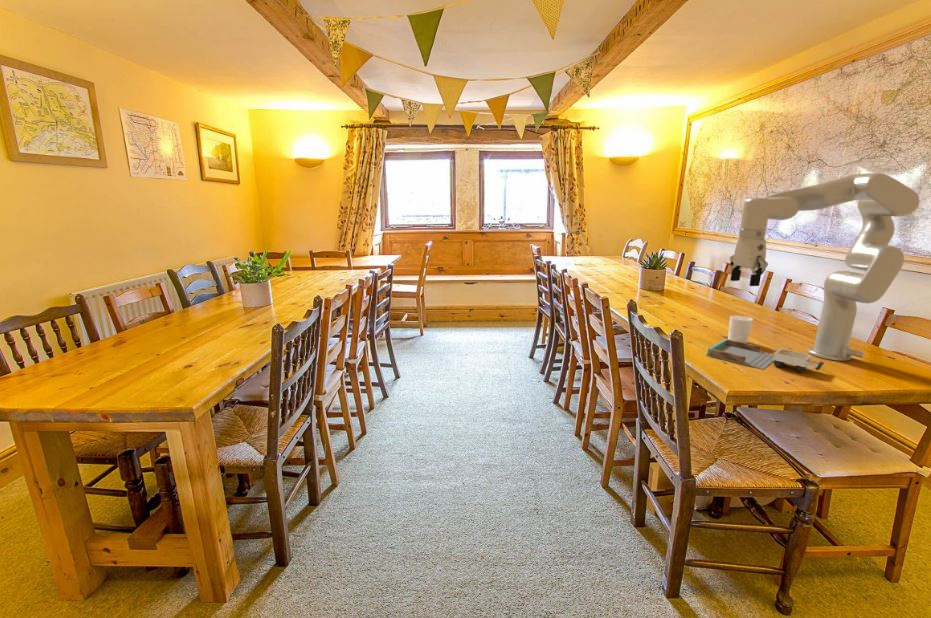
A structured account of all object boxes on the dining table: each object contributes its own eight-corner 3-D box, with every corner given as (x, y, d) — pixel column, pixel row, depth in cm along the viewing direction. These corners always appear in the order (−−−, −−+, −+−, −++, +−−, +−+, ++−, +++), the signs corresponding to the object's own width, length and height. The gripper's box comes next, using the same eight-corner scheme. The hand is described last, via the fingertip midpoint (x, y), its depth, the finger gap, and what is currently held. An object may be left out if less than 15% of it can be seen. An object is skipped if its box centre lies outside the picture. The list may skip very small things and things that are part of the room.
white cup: (752, 345, 170) (756, 321, 168) (730, 343, 172) (734, 320, 169) (743, 339, 178) (748, 316, 175) (723, 337, 179) (727, 314, 177)
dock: (778, 356, 158) (779, 350, 157) (763, 369, 146) (764, 362, 145) (724, 344, 171) (725, 338, 170) (706, 355, 158) (707, 348, 158)
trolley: (822, 371, 144) (825, 357, 143) (817, 377, 139) (820, 363, 138) (777, 361, 154) (780, 348, 152) (771, 366, 148) (773, 353, 147)
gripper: (782, 236, 140) (772, 287, 144) (744, 232, 156) (737, 278, 161) (760, 236, 139) (751, 288, 143) (725, 232, 156) (718, 279, 160)
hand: (744, 283), depth 152 cm, fingers open, 9 cm apart
